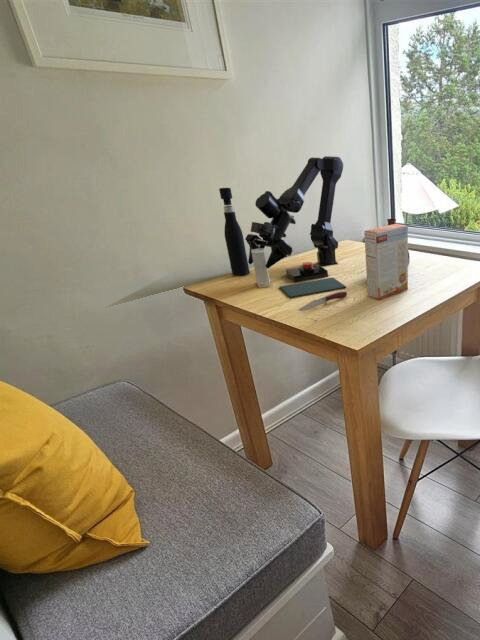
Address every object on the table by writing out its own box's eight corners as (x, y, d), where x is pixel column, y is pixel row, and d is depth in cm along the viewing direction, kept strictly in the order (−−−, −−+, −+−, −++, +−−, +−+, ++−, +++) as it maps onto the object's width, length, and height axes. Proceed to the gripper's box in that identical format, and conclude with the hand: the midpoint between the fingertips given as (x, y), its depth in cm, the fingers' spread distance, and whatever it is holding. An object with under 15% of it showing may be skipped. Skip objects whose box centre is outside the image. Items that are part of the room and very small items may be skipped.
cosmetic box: (270, 286, 149) (265, 251, 143) (257, 288, 148) (251, 253, 141) (269, 281, 154) (264, 247, 148) (256, 282, 153) (250, 248, 147)
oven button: (311, 266, 157) (310, 261, 157) (314, 268, 155) (314, 263, 154) (302, 267, 156) (301, 262, 155) (305, 269, 153) (304, 265, 152)
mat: (333, 279, 156) (332, 277, 155) (346, 288, 146) (346, 286, 146) (279, 288, 148) (279, 286, 147) (290, 298, 139) (290, 296, 138)
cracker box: (395, 285, 148) (395, 222, 137) (408, 289, 144) (409, 225, 133) (366, 295, 139) (363, 229, 129) (378, 300, 136) (377, 232, 125)
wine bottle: (234, 277, 159) (216, 190, 144) (231, 272, 164) (213, 188, 148) (251, 274, 162) (236, 188, 146) (247, 270, 167) (232, 186, 151)
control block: (318, 270, 166) (317, 259, 163) (328, 277, 157) (328, 266, 155) (286, 275, 160) (284, 264, 158) (295, 282, 152) (293, 271, 150)
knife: (345, 296, 139) (344, 287, 138) (348, 297, 138) (347, 288, 137) (297, 315, 126) (295, 305, 124) (300, 316, 125) (298, 306, 124)
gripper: (244, 209, 146) (224, 248, 145) (281, 214, 137) (259, 256, 135) (266, 229, 156) (247, 266, 154) (301, 235, 146) (281, 274, 144)
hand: (257, 265), depth 147 cm, fingers open, 9 cm apart
